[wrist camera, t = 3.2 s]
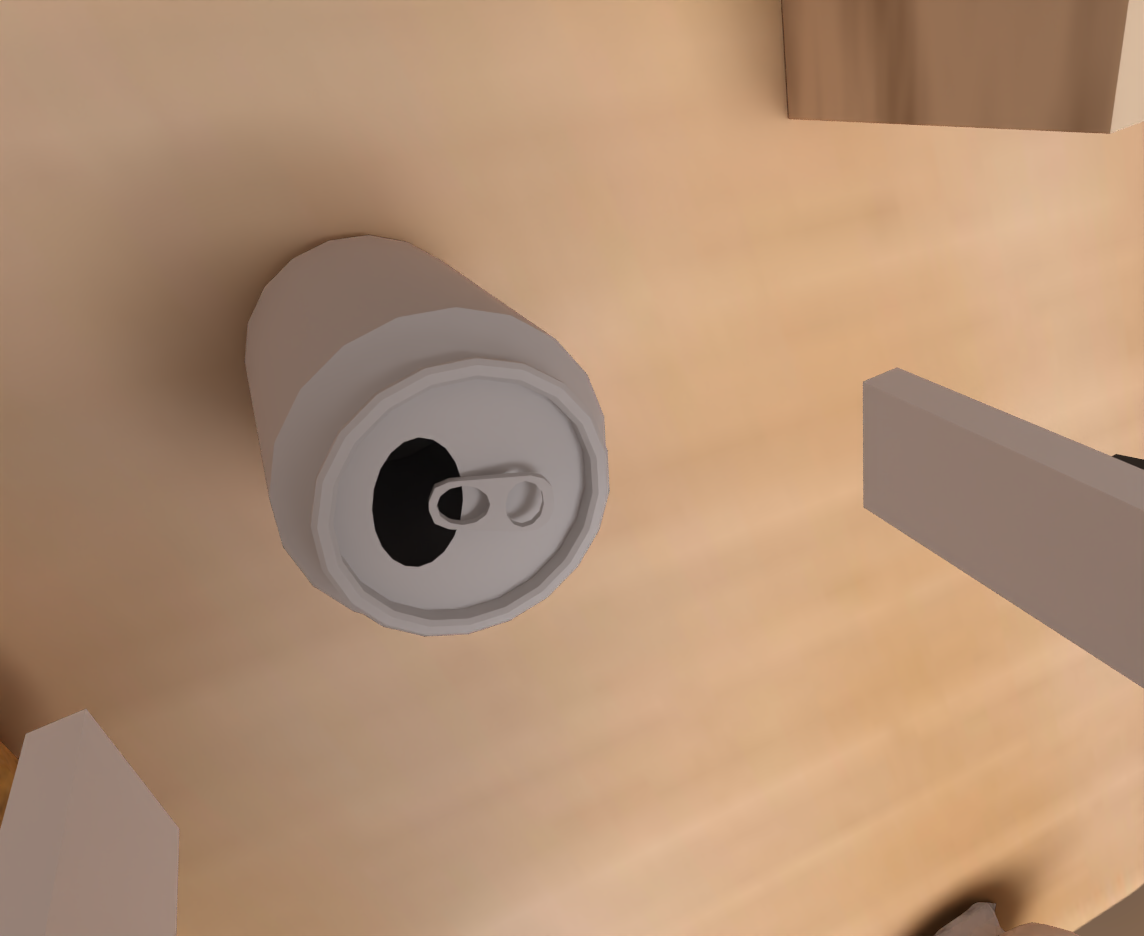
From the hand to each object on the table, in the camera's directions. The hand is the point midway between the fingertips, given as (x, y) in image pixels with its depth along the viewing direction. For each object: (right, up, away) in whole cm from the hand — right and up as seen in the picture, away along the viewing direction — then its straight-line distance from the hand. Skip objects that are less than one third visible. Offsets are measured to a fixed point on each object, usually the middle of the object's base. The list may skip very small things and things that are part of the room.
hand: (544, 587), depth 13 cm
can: (-6, +6, +13) cm, 16 cm away
